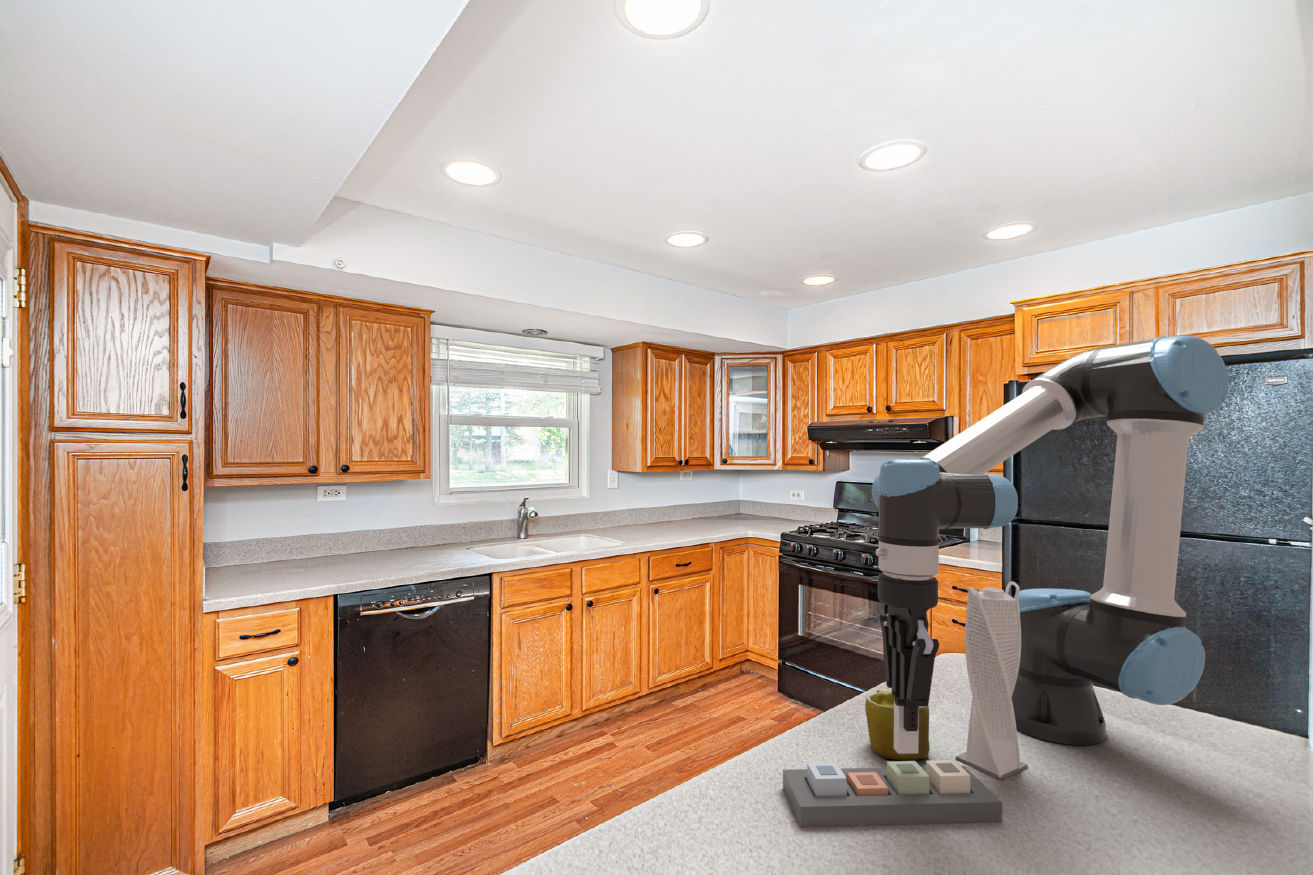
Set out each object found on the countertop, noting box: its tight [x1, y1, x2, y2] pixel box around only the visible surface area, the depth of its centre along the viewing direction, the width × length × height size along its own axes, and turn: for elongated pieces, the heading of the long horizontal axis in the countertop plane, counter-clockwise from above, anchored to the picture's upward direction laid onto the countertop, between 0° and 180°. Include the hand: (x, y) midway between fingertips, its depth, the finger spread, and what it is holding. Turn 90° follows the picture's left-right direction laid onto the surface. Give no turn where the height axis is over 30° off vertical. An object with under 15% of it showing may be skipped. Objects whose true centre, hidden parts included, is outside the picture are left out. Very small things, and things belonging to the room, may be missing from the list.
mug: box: [864, 688, 931, 761], centre depth 100 cm, size 12×10×10 cm
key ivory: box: [925, 759, 970, 794], centre depth 85 cm, size 4×4×3 cm
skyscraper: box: [955, 580, 1029, 781], centre depth 94 cm, size 8×8×28 cm
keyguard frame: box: [782, 765, 1003, 828], centre depth 84 cm, size 26×9×2 cm, turn 93°
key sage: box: [886, 760, 929, 795], centre depth 84 cm, size 4×4×3 cm
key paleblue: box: [806, 762, 847, 797], centre depth 84 cm, size 4×4×3 cm
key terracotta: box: [847, 772, 888, 796], centre depth 84 cm, size 4×4×3 cm
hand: (905, 750), depth 84 cm, fingers closed
